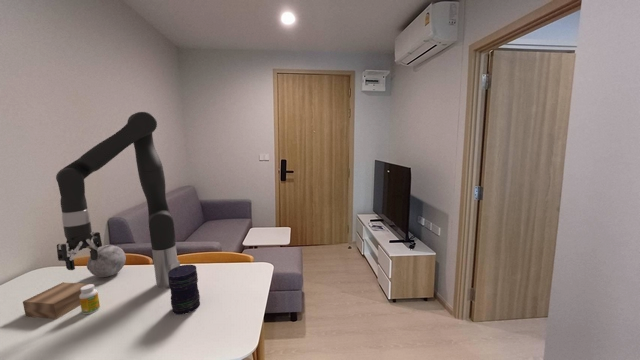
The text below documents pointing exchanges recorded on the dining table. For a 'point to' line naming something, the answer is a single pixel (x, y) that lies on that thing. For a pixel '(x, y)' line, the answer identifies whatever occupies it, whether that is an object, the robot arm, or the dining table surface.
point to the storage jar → (184, 289)
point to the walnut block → (54, 301)
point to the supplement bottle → (89, 299)
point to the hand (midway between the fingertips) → (83, 264)
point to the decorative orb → (107, 261)
